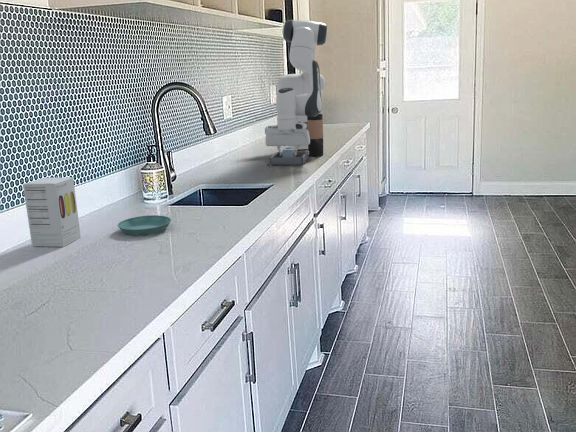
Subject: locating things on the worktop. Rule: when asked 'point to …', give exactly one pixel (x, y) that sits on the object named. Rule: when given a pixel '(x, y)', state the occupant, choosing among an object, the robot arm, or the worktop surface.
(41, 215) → the supplement box
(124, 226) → the saucer
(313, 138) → the travel mug
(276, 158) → the charcoal tray
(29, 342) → the worktop surface
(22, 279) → the worktop surface
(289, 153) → the slate block
